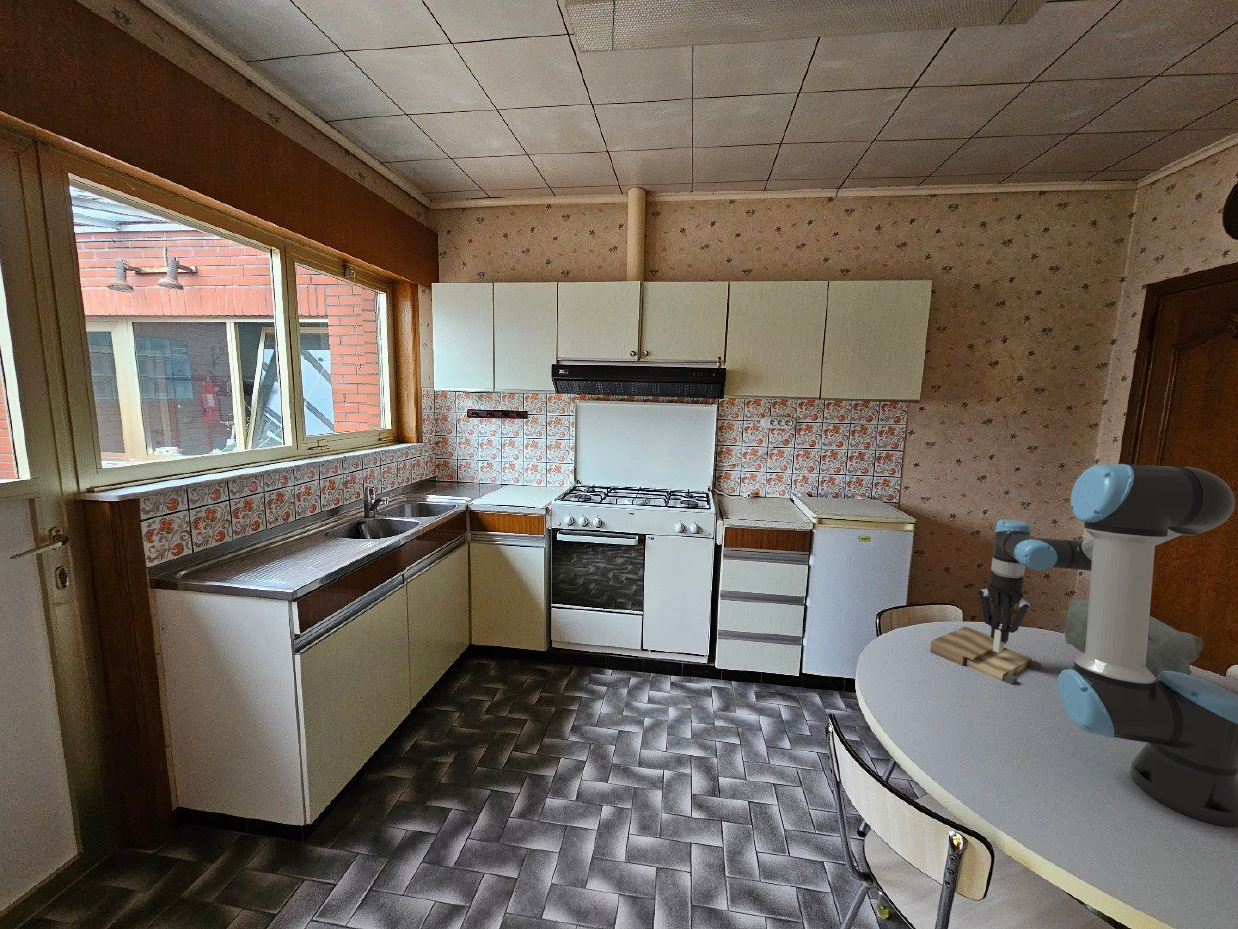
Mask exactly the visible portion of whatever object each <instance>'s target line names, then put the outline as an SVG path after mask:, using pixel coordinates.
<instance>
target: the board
mask: <svg viewBox="0 0 1238 929" xmlns="http://www.w3.org/2000/svg"><path fill="white" fill-rule="evenodd" d="M1007 642H1008V641H1007ZM1007 642H1005V643H1004V645H1007ZM993 643H994V639H993V638H991V634H987V633H984V632H982V631H980V630H976V629H974V628H972V627H968V626H963V627H960V628H957V629H956V630H954V631H951V632H948V633H946V634H944V635H942V636H939V637H936V638H934V639H932V640H931V641H930V650H929V653H931V654H934V655H937V656H939V657H941V656H942V657H941V658H943V657H944V658H943V659H946V660H947V661H951V662H953V663H955V662H957V663H958V665H960V666H964V665H966V664H967V659H972V660H974V659H976V658H978V657H980V656H982V655H984V654H986V653H988V652H990V651H992V650H993ZM957 663H956V664H957ZM965 663H966V664H965Z"/></svg>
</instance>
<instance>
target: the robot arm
mask: <svg viewBox="0 0 1238 929" xmlns="http://www.w3.org/2000/svg"><path fill="white" fill-rule="evenodd" d="M1235 503H1236V499H1235V495H1234V492H1233V490H1232V489H1231V487H1230V486H1229V485H1228V483H1226V482H1225V481H1224V479H1222V478H1220V477H1219V476H1217V475H1215V474H1214V473H1211V472H1209V471H1208V470H1205V469H1201V468H1198V467H1191V466H1167V465H1166V466H1165V465H1164V466H1163V465H1162V466H1161V465H1145V464H1144V465H1142V464H1141V465H1140V464H1125V463H1116V464H1115V463H1114V464H1113V463H1112V464H1111V463H1110V464H1097V465H1093V466H1091V467H1089V468H1087V469H1085V470H1084V471H1083V473H1082V474H1080V475H1079V476H1078V478H1077V479H1076V481H1075V483H1074V485H1073V487H1072V490H1071V495H1070V507H1071V508H1072V513H1073V515H1074V517H1076V518H1077V519H1078V520H1080V521H1081V522H1084V523H1083V524H1084V526H1083V529H1084V530H1085V531H1086V532H1087V533H1088V534H1089V536H1086V537H1085V538H1083V539H1080V540H1075V539H1073V540H1072V539H1059V538H1049V537H1048V538H1047V537H1046V538H1045V537H1035V536H1032V535H1030V534H1031V526H1030V523H1028V522H1025V521H1023V520H1016V519H1007V518H1006V519H1000V520H998V521H997V522H996V527H995V530H994V543H993V549H992V559H991V567H990V570H991V571H990V576H989V585H988V586H987V587H986V588H982V589H980V590H978V591H977V594H978V596H979V598H980V601H981V609H982V613H983V614H982V615H983V620H984V624H985V625H988V626H989V627H990V628H991V630H990V636H991V638H993V639H994V643H993V651H995V652H997V653H999V652H1001V651H1003V647H1004V643H1005V642H1008V641H1009V634H1010V633H1011V634H1013V633H1015V632H1017V631H1018V630H1019V628H1020V627H1021V624H1022V622H1023V619H1024V618H1025V615H1026V614H1027V612H1028V610H1030V609H1031V608H1032V607H1033V604H1032V602H1028V601H1027V600H1025V598H1024V595H1023V592H1022V591H1023V586H1024V577H1023V576H1024V575H1025V570H1026V568H1028V569H1031V570H1034V571H1038V572H1043V571H1047V570H1049V569H1051V568H1055V569H1066V570H1076V571H1077V570H1078V571H1090V581H1089V592H1088V593H1089V594H1088V602H1089V606H1088V619H1087V633H1086V646H1085V653H1083V652H1082V654H1080V655H1077V656H1075V657H1074V660H1073V661H1074V662H1073V669H1072V668H1068V669H1063V670H1061V672H1060V673H1059V674H1058V676H1057V691H1058V696H1059V699H1060V702H1061V704H1062V705H1061V706H1062V707H1063V709H1064V711H1065V713H1066V715H1067V716H1068V717H1069V719H1070V720H1071V721H1072V723H1073V724H1074V725H1075V726H1076V727H1077V728H1079V729H1081V730H1082V731H1083V732H1086V733H1088V734H1094V735H1098V736H1103V737H1105V738H1108V739H1113V738H1114V739H1115V738H1116V739H1119V740H1121V739H1122V740H1129V741H1134V742H1135V741H1136V742H1141V743H1146V744H1145V745H1144V746H1143V747H1142V749H1141V750H1140V751H1139V752H1138V753H1137V755H1136V756H1135V757H1134V758H1133V760H1132V762H1131V763H1130V771H1129V775H1130V778H1131V780H1132V781H1133V782H1134V783H1135V784H1136V786H1137V787H1139V789H1141V790H1142V791H1143V792H1145V793H1146V795H1148V796H1150V797H1151V798H1153V799H1155V801H1157V802H1158V803H1160V804H1163V805H1164V806H1167V807H1168V808H1170V809H1172V810H1174V811H1176V812H1179V813H1181V814H1183V815H1185V816H1188V817H1191V818H1193V819H1196V820H1198V821H1199V820H1200V821H1203V822H1206V823H1210V824H1213V825H1218V826H1223V827H1224V826H1225V827H1235V826H1236V827H1237V826H1238V695H1236V694H1235V693H1233V692H1231V691H1229V690H1228V689H1226V688H1224V687H1222V686H1220V685H1217V684H1215V683H1213V682H1210V681H1207V680H1205V679H1202V678H1199V677H1196V676H1194V675H1187V674H1183V673H1179V672H1174V671H1162V672H1160V673H1159V675H1157V678H1156V677H1155V676H1154V675H1153V674H1152V673H1151V672H1150V671H1149V670H1148V669H1147V668H1146V653H1147V641H1148V628H1149V615H1150V613H1151V602H1152V600H1151V599H1152V588H1153V577H1154V576H1153V575H1154V574H1153V573H1154V560H1155V550H1156V546H1158V545H1160V544H1163V543H1166V542H1168V541H1170V540H1172V539H1175V538H1178V537H1181V536H1197V535H1201V534H1203V533H1206V532H1208V531H1210V530H1213V529H1216V528H1217V527H1219V526H1220V525H1223V524H1224V523H1225V522H1226V521H1227V520H1229V518H1230V517H1231V516H1232V514H1233V513H1234V510H1235V507H1236V504H1235ZM990 597H991V598H990ZM990 599H992V601H993V602H992V605H991V600H990ZM1018 603H1019V605H1018V606H1019V609H1018V610H1017V611H1016V613H1015V615H1014V617H1012V616H1013V615H1012V614H1013V611H1014V610H1013V609H1014V608H1015V605H1016V604H1018ZM992 606H993V607H992ZM1002 610H1003V611H1002ZM1002 612H1003V614H1002ZM1150 616H1151V615H1150ZM1012 618H1013V621H1012ZM1001 619H1002V620H1001ZM1001 621H1002V622H1001Z"/></svg>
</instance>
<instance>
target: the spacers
mask: <svg viewBox="0 0 1238 929" xmlns="http://www.w3.org/2000/svg"><path fill="white" fill-rule="evenodd" d="M1028 668H1030V669H1032V670H1035V671H1038V670H1040V669H1041V668H1042V663H1041V662H1040V661H1036V660H1033V659H1032V661H1031V662H1029V666H1028ZM1005 681H1006V682H1005ZM1003 682H1005V683H1008V684H1010V685H1014V684H1016V683H1017V682H1018V677H1017V676H1015V675H1010V674H1007V675H1006V676H1004V680H1003Z"/></svg>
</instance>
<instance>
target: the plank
mask: <svg viewBox="0 0 1238 929" xmlns="http://www.w3.org/2000/svg"><path fill="white" fill-rule="evenodd" d="M1031 661H1033V657H1031V656H1028V655H1026V654H1024V653H1023V654H1022V653H1020V652H1017V651H1014V650H1012V649H1009V648H1008V647H1007V648H1006V647H1004V646H1003V651H1001V652H999V653H997V652H995V651H993V650H992V651H990V652H988V653H986V654H984V655H982V656H980V657H978V658H976V659H974V660H972V659H967V663H966V664H965V665H967V666H966V667H968V666H969V667H968V668H970V667H971V669H972V670H975V669H976V670H975V671H977V670H978V672H980V673H982V674H985V675H986V676H989V675H990V676H989V677H991V676H993V677H992V678H994V679H996V680H999V681H1001V682H1004V676H1006V675H1007V674H1010V675H1013V676H1015V674H1017V673H1019V672H1021V671H1023V670H1025V669H1026V668H1027V667H1028V668H1029V662H1031ZM1020 670H1021V671H1020Z"/></svg>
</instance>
